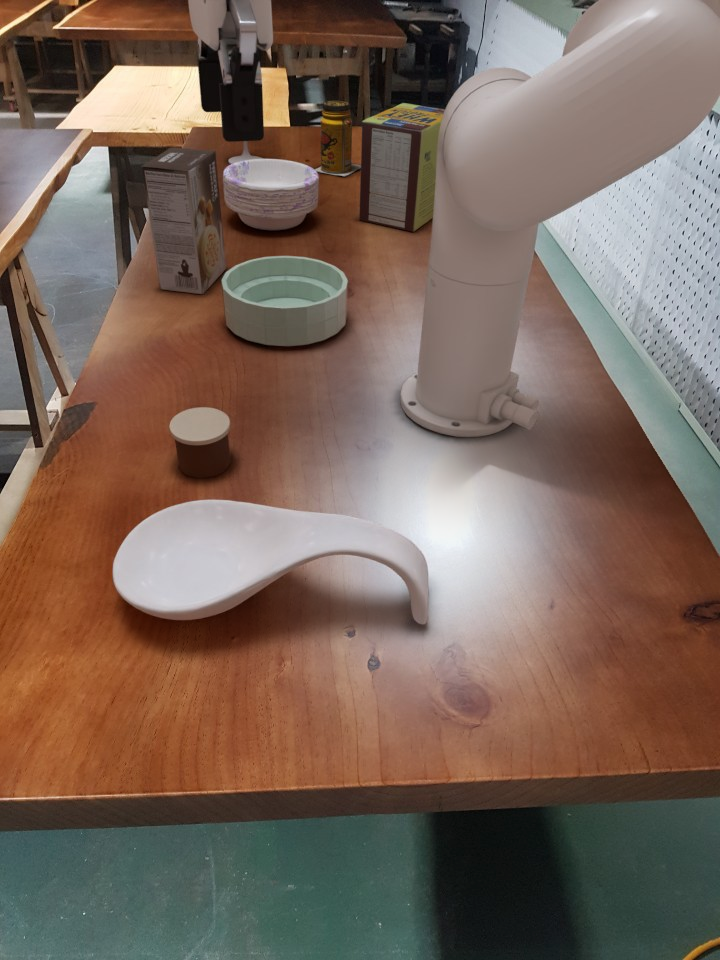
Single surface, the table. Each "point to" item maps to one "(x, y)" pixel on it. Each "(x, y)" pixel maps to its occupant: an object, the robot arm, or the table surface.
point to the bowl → (285, 300)
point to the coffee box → (185, 218)
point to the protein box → (399, 166)
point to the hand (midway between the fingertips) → (231, 124)
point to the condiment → (336, 139)
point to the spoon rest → (246, 555)
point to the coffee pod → (201, 441)
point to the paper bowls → (271, 192)
